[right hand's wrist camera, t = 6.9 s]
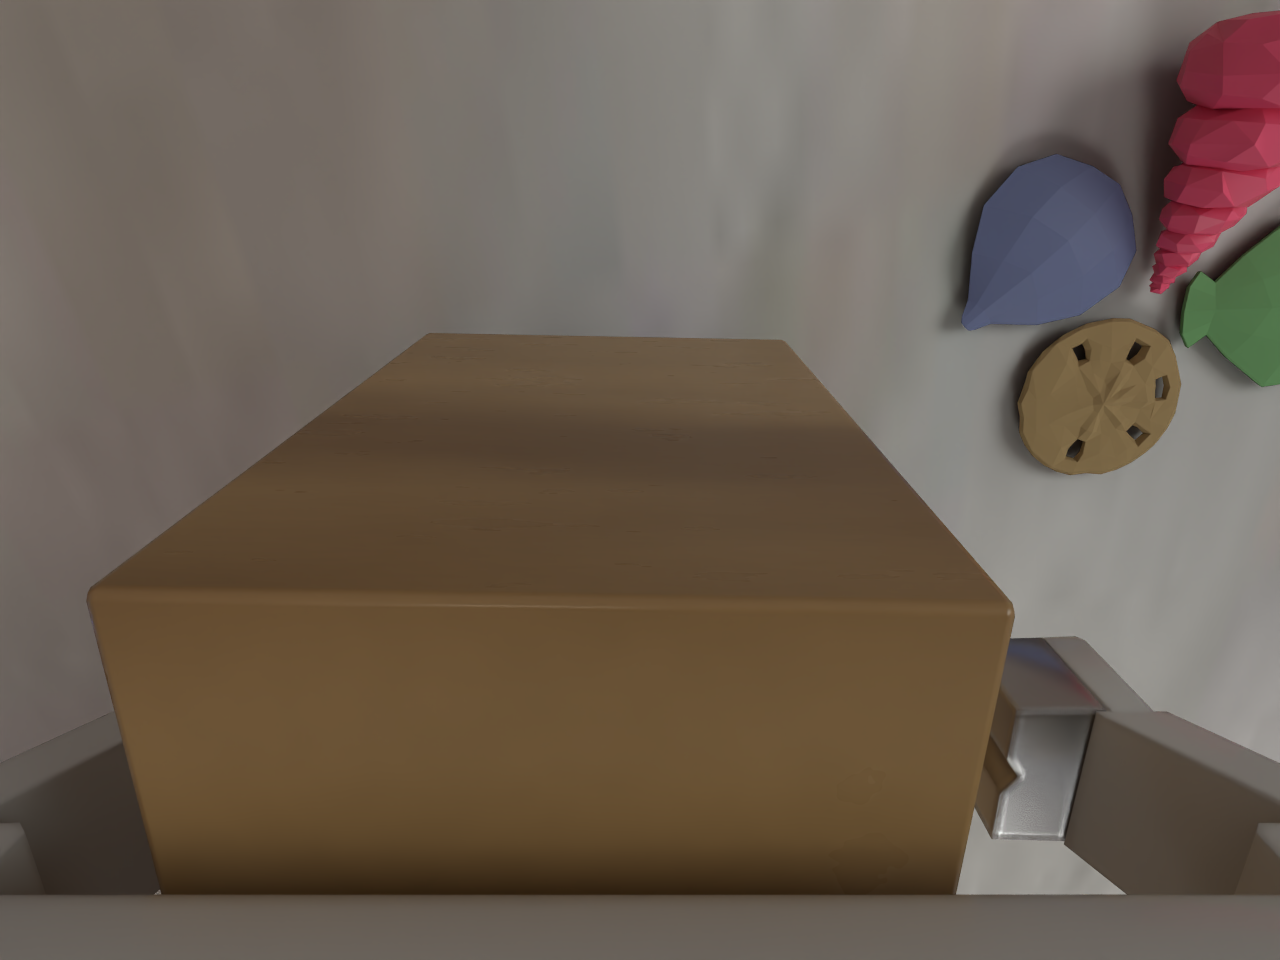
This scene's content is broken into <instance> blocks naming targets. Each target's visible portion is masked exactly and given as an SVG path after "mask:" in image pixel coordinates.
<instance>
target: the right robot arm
mask: <svg viewBox="0 0 1280 960" xmlns="http://www.w3.org/2000/svg"><path fill="white" fill-rule="evenodd" d="M974 807H975V809H976V811H977V813H978V815H979V816H980V818H981V820H982V822H983V824H984V826H985V827H986V829H987V831H988V833H989V835H990V837H991V839H1010V840H1047V841H1065V842H1064V845H1066V846H1067V847H1068V848H1069V849H1071V850H1072V851H1073V852H1074V853H1076V854H1077V855H1078V856H1079V857H1081V858H1082V859H1083V860H1084V861H1086V862H1087V863H1088V864H1089V865H1091V866H1092V867H1093V868H1094V869H1096V870H1097V871H1098V872H1099V873H1101V874H1102V875H1103V876H1104V877H1106V878H1107V879H1108V880H1110V881H1111V882H1112V883H1113V884H1115V885H1116V886H1117V887H1118V888H1120V889H1121V890H1122V891H1123V892H1125V893H1126V894H1127V895H153V894H154V893H156V892H157V891H158V890H159V889H160V886H159V882H158V878H157V874H156V871H155V867H154V863H153V859H152V855H151V851H150V847H149V843H148V839H147V835H146V832H145V828H144V824H143V820H142V816H141V812H140V808H139V804H138V800H137V796H136V793H135V789H134V785H133V781H132V777H131V773H130V769H129V765H128V761H127V757H126V753H125V750H124V746H123V742H122V738H121V734H120V730H119V726H118V722H117V718H116V714H115V712H111V713H109V714H107V715H105V716H103V717H100V718H98V719H96V720H94V721H92V722H89V723H87V724H85V725H83V726H81V727H78V728H76V729H74V730H72V731H70V732H67V733H65V734H63V735H61V736H59V737H56V738H54V739H52V740H50V741H48V742H46V743H43V744H41V745H39V746H37V747H35V748H32V749H30V750H28V751H26V752H24V753H21V754H19V755H17V756H15V757H13V758H10V759H8V760H6V761H4V762H2V763H0V960H1280V763H1278V762H1276V761H1274V760H1271V759H1269V758H1267V757H1265V756H1263V755H1261V754H1258V753H1256V752H1254V751H1252V750H1250V749H1247V748H1245V747H1243V746H1241V745H1239V744H1236V743H1234V742H1232V741H1230V740H1228V739H1226V738H1223V737H1221V736H1219V735H1217V734H1215V733H1212V732H1210V731H1208V730H1206V729H1204V728H1201V727H1199V726H1197V725H1195V724H1193V723H1191V722H1188V721H1186V720H1184V719H1182V718H1180V717H1177V716H1175V715H1173V714H1171V713H1169V712H1154V711H1153V710H1152V709H1151V708H1150V707H1149V706H1148V705H1147V704H1146V703H1145V702H1144V701H1143V700H1142V699H1141V698H1140V697H1139V696H1138V695H1137V694H1136V693H1135V692H1134V690H1133V689H1132V688H1131V687H1130V686H1129V685H1128V684H1127V683H1126V682H1125V681H1124V680H1123V679H1122V678H1121V677H1120V676H1119V675H1118V674H1117V673H1116V672H1115V671H1114V670H1113V669H1112V668H1111V667H1110V666H1109V665H1108V664H1107V663H1106V662H1105V660H1104V659H1103V658H1102V657H1101V656H1100V655H1099V654H1098V653H1097V652H1096V651H1095V650H1094V649H1093V648H1092V647H1091V646H1090V645H1089V644H1088V643H1087V642H1086V641H1085V640H1083V639H1080V638H1078V637H1075V636H1071V637H1045V638H1014V639H1010V641H1009V646H1008V651H1007V655H1006V660H1005V665H1004V670H1003V674H1002V679H1001V684H1000V688H999V693H998V698H997V702H996V707H995V712H994V717H993V721H992V726H991V731H990V735H989V740H988V745H987V750H986V754H985V759H984V764H983V768H982V773H981V778H980V783H979V787H978V792H977V797H976V801H975V806H974Z"/></svg>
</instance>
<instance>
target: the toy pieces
mask: <svg viewBox="0 0 1280 960" xmlns="http://www.w3.org/2000/svg"><path fill="white" fill-rule="evenodd" d="M1177 82H1178V84H1179V86H1180V88H1181V90H1182V92H1183V94H1184V96H1185V98H1186V100H1187V101H1188V102H1191V103H1193V104H1195V105H1197V106H1195V107H1194V108H1192V109H1191V110H1189V111H1188V112H1186V113H1185V114H1183V115H1182V116H1180V117H1179V118H1177V121H1176V124H1175V127H1174V129H1173V132H1172V135H1171V137H1170V140H1169V143H1168V144H1169V145H1170V147H1171V148H1172V149H1173V151H1174V152H1175V153H1176V155H1177V156H1178V157H1179V159H1180V160H1181V161H1182V162H1183V163H1182V164H1181V165H1178V166H1174V167H1173V168H1172V169H1171V171H1170V172H1169V173H1168V175H1167V176H1166V177H1165V179H1164V197H1165V198H1167V199H1169V200H1172V201H1170V202H1169V203H1168V204H1167V205H1166V206H1165V207H1164V208H1162V211H1161V214H1160V217H1159V220H1160V221H1161V223H1162V224H1163V225H1164V226H1165V228H1166V230H1163V231H1161V233H1160V236H1159V239H1158V241H1157V244H1156V246H1157V247H1159V248H1160V249H1159V250H1158V251H1157V252H1155V253H1154V257H1155V261H1156V264H1155V265H1153V266H1152V267H1153V270H1154V274H1153V275H1152V277H1151V279H1150V281H1152V282H1153V283H1152V284H1151V285H1149V286H1150V287H1151V289H1150V292H1154V293H1158V294H1161V293H1163V292H1164V291H1165V290H1166V289H1168V288H1169V285H1170V283H1174V282H1175V278H1176V277H1177V276H1179V275H1181V274H1183V273H1185V272H1187V267H1189V266H1190V265H1191V264H1193V263H1194V262H1195V261H1196V260H1198V258H1199V256H1200V254H1201V252H1204V251H1205V250H1207V249H1209V248H1211V247H1213V246H1214V244H1215V243H1216V241H1217V239H1218V237H1219V236H1220V234H1221V232H1223V231H1225V230H1227V229H1229V228H1231V227H1233V226H1234V225H1235V224H1236V223H1237V222H1238V221H1239V220H1240V219H1241V218H1242V217H1243V216H1244V215H1245V214H1246V213H1247V207H1249V206H1251V205H1252V204H1254V203H1255V202H1257V201H1258V200H1260V199H1261V198H1263V197H1264V196H1265V195H1267V194H1268V193H1270V192H1271V191H1273V190H1274V189H1276V188H1277V187H1279V186H1280V11H1271V12H1260V13H1252V14H1248V15H1244V16H1240V17H1235V18H1231V19H1227V20H1223V21H1220V22H1217V23H1215V24H1214V25H1213V26H1211V27H1210V28H1209V29H1207V30H1206V31H1205V32H1203V33H1202V34H1201V35H1199V36H1198V37H1197V38H1195V39H1194V40H1193V41H1191V42H1190V43H1189V46H1188V49H1187V51H1186V54H1185V57H1184V60H1183V63H1182V66H1181V69H1180V72H1179V74H1178V77H1177ZM1135 253H1136V243H1135V235H1134V226H1133V218H1132V213H1131V211H1130V208H1129V206H1128V203H1127V201H1126V198H1125V196H1124V193H1123V191H1122V188H1121V186H1120V184H1118V183H1117V182H1116V181H1114V180H1113V179H1111V178H1110V177H1108V176H1107V175H1105V174H1104V173H1102V172H1101V171H1099V170H1098V169H1096V168H1095V167H1093V166H1091V165H1088V164H1085V163H1082V162H1079V161H1076V160H1073V159H1070V158H1067V157H1064V156H1061V155H1058V154H1055V155H1052V156H1049V157H1046V158H1043V159H1040V160H1037V161H1034V162H1031V163H1028V164H1025V165H1022V166H1019V167H1017V168H1016V169H1015V170H1014V172H1013V173H1012V174H1011V175H1010V176H1009V177H1008V178H1007V180H1006V181H1005V182H1004V183H1003V184H1002V185H1001V186H1000V188H999V189H998V190H997V191H996V192H995V193H994V194H993V196H992V197H991V198H990V199H989V200H988V201H987V202H986V204H985V205H984V207H983V211H982V215H981V219H980V223H979V227H978V231H977V236H976V240H975V244H974V248H973V252H972V261H971V272H970V284H969V295H968V301H967V304H966V307H965V310H964V312H963V315H962V321H961V323H962V324H963V326H964V327H965V328H966V329H967V330H976V329H978V328H981V327H983V326H986V325H989V324H1020V325H1038V324H1043V323H1047V322H1052V321H1056V320H1061V319H1065V318H1069V317H1074V316H1078V315H1081V314H1082V313H1084V312H1085V311H1086V310H1088V309H1089V308H1091V307H1092V306H1093V305H1095V304H1096V303H1098V302H1099V301H1100V300H1102V299H1103V298H1104V297H1106V296H1107V295H1109V294H1110V293H1111V292H1113V291H1114V290H1116V289H1117V288H1118V287H1120V284H1121V282H1122V280H1123V278H1124V276H1125V274H1126V272H1127V270H1128V267H1129V265H1130V263H1131V261H1132V259H1133V257H1134V255H1135ZM1180 335H1181V337H1182V340H1183V342H1184V345H1185V346H1186V347H1187V348H1189V347H1190V346H1192V345H1193V344H1194V343H1196V342H1197V341H1199V340H1200V339H1201V338H1203V337H1204V336H1205V335H1206V336H1207V337H1208V338H1209V339H1210V341H1211V342H1212V343H1213V344H1214V345H1215V346H1216V348H1217V349H1218V350H1219V351H1220V352H1221V353H1222V354H1223V356H1224V357H1226V358H1227V359H1228V360H1229V361H1230V362H1232V363H1233V364H1234V365H1235V366H1236V367H1238V368H1239V369H1240V370H1241V371H1242V372H1244V373H1245V374H1246V375H1247V376H1249V377H1250V378H1251V379H1252V380H1253V381H1255V382H1256V383H1257V384H1258V385H1260V386H1261V387H1264V386H1271V385H1278V384H1280V226H1279V227H1277V228H1276V229H1275V230H1273V231H1272V232H1271V233H1270V234H1268V235H1267V236H1266V237H1265V238H1263V239H1262V240H1261V241H1259V242H1258V243H1257V244H1256V245H1254V246H1253V247H1252V248H1250V249H1249V250H1248V251H1247V252H1245V253H1244V254H1243V255H1242V256H1241V257H1240V258H1238V259H1237V260H1236V261H1235V262H1234V263H1233V264H1232V265H1231V266H1230V267H1229V268H1228V269H1227V270H1226V271H1225V272H1223V273H1222V274H1221V275H1220V276H1219V277H1218V278H1217V279H1216V280H1215V281H1213V280H1212V279H1210V278H1209V277H1208V276H1206V275H1205V274H1204V273H1203V272H1201V271H1199V272H1197V273H1196V275H1195V276H1194V278H1193V279H1192V280H1191V282H1190V283H1189V285H1188V286H1187V289H1186V293H1185V298H1184V302H1183V306H1182V311H1181V322H1180ZM1134 342H1137V343H1138V344H1140V345H1142V347H1141V349H1140V350H1139V352H1138V353H1137V355H1135V356H1134V357H1133V358H1131V359H1130V360H1129V361H1128V360H1127V359H1126V358H1127V356H1128V353H1129V351H1130V349H1131V347H1132V346H1133V344H1134ZM1080 344H1083V346H1084V349H1085V355H1086V359H1084V360H1079V361H1078V359H1077V357H1076V355H1075V353H1074V351H1073V349H1072V348H1074V347H1076V346H1078V345H1080ZM1160 377H1162V379H1163V384H1164V387H1163V393H1162V397H1161V398H1155V389H1156V384H1155V379H1158V378H1160ZM1180 387H1181V381H1180V376H1179V371H1178V366H1177V361H1176V356H1175V354H1174V351H1173V349H1172V346H1171V344H1170V341H1169V340H1168V339H1167V338H1165V337H1164V336H1163V335H1161V334H1160V333H1159V332H1158V331H1156V330H1155V329H1153V328H1151V327H1149V326H1146V325H1144V324H1141V323H1139V322H1137V321H1134V320H1132V319H1122V318H1112V319H1107V320H1102V321H1097V322H1092V323H1087V324H1085V325H1083V326H1080V327H1078V328H1076V329H1074V330H1072V331H1070V332H1068V333H1066V334H1064V335H1063V336H1061V337H1060V338H1059V339H1057V340H1056V341H1055V342H1053V343H1052V344H1051V345H1050V346H1049V347H1048V348H1046V349H1045V350H1044V351H1043V352H1042V353H1041V354H1040V356H1039V357H1038V358H1037V360H1036V361H1035V363H1034V364H1033V365H1032V367H1031V368H1030V370H1029V371H1028V373H1027V377H1026V380H1025V383H1024V386H1023V389H1022V392H1021V395H1020V397H1019V400H1018V403H1017V404H1018V410H1019V415H1020V425H1019V433H1020V435H1021V438H1022V440H1023V442H1024V445H1025V446H1026V448H1027V449H1028V450H1029V452H1030V453H1031V454H1032V456H1033V457H1035V458H1036V459H1037V460H1038V461H1039V462H1041V463H1042V464H1043V465H1045V466H1047V467H1048V468H1050V469H1052V470H1054V471H1057V472H1060V473H1064V474H1068V475H1074V474H1082V473H1093V474H1103V473H1106V472H1110V471H1113V470H1116V469H1118V468H1121V467H1123V466H1125V465H1127V464H1129V463H1131V462H1132V461H1134V460H1135V459H1137V458H1138V457H1140V456H1141V455H1142V454H1144V453H1145V452H1146V451H1148V450H1149V449H1150V448H1151V447H1152V446H1153V445H1154V444H1155V443H1156V442H1157V441H1158V439H1159V438H1160V437H1161V436H1162V434H1163V433H1164V432H1165V430H1166V429H1167V428H1168V426H1169V424H1170V422H1171V420H1172V418H1173V416H1174V414H1175V411H1176V406H1177V401H1178V397H1179V392H1180ZM1132 425H1133V426H1135V427H1138V428H1139V429H1140V430H1141V432H1142V433H1143V434H1141V435H1140V436H1139V437H1138V438H1137V439H1136V440H1134V439H1133V438H1132V437H1131V436H1130V435H1129V434H1128V433H1127V432H1126V431H1127V430H1128V429H1129V428H1130V427H1131V426H1132ZM1077 439H1079V440H1082V441H1083V443H1082V446H1081V449H1080V451H1079V453H1078V454H1077V455H1076V456H1075V457H1074V458H1071V457H1067V456H1066V454H1067V451H1068V448H1069V447H1070V446H1071V445H1072V444H1073V443H1074V442H1075V441H1076V440H1077Z"/></svg>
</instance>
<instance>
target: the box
mask: <svg viewBox="0 0 1280 960" xmlns="http://www.w3.org/2000/svg"><path fill="white" fill-rule="evenodd" d="M87 605H88V609H89V613H90V617H91V621H92V625H93V629H94V633H95V636H96V640H97V644H98V648H99V652H100V656H101V660H102V664H103V668H104V672H105V675H106V679H107V683H108V687H109V691H110V695H111V699H112V703H113V707H114V711H115V714H116V718H117V722H118V726H119V730H120V734H121V738H122V742H123V746H124V750H125V753H126V757H127V761H128V765H129V769H130V773H131V777H132V781H133V785H134V789H135V793H136V796H137V800H138V804H139V808H140V812H141V816H142V820H143V824H144V828H145V832H146V835H147V839H148V843H149V847H150V851H151V855H152V859H153V863H154V867H155V871H156V874H157V878H158V882H159V886H160V890H161V894H162V895H956V891H957V886H958V882H959V877H960V872H961V867H962V863H963V858H964V853H965V849H966V844H967V839H968V834H969V830H970V825H971V820H972V816H973V811H974V806H975V801H976V797H977V792H978V787H979V783H980V778H981V773H982V768H983V764H984V759H985V754H986V750H987V745H988V740H989V735H990V731H991V726H992V721H993V717H994V712H995V707H996V702H997V698H998V693H999V688H1000V684H1001V679H1002V674H1003V670H1004V665H1005V660H1006V655H1007V651H1008V646H1009V641H1010V637H1011V632H1012V627H1013V622H1014V618H1015V614H1014V608H1013V604H1012V602H1011V601H1010V600H1009V599H1008V598H1007V596H1006V595H1005V594H1004V593H1003V592H1002V591H1001V590H1000V588H999V587H998V586H997V585H996V584H995V583H994V581H993V580H992V579H991V578H990V577H989V576H988V575H987V573H986V572H985V571H984V570H983V569H982V568H981V566H980V565H979V564H978V563H977V562H976V561H975V560H974V558H973V557H972V556H971V555H970V554H969V553H968V552H967V550H966V549H965V548H964V547H963V546H962V545H961V543H960V542H959V541H958V540H957V539H956V538H955V537H954V535H953V534H952V533H951V532H950V531H949V530H948V528H947V527H946V526H945V525H944V524H943V523H942V522H941V520H940V519H939V518H938V517H937V516H936V515H935V514H934V512H933V511H932V510H931V509H930V508H929V507H928V505H927V504H926V503H925V502H924V501H923V500H922V499H921V497H920V496H919V495H918V494H917V493H916V492H915V490H914V489H913V488H912V487H911V486H910V485H909V484H908V482H907V481H906V480H905V479H904V478H903V477H902V476H901V474H900V473H899V472H898V471H897V470H896V469H895V467H894V466H893V465H892V464H891V463H890V462H889V461H888V459H887V458H886V457H885V456H884V455H883V454H882V452H881V451H880V450H879V449H878V448H877V447H876V446H875V444H874V443H873V442H872V441H871V440H870V439H869V437H868V436H867V435H866V434H865V433H864V432H863V431H862V429H861V428H860V427H859V426H858V425H857V424H856V423H855V421H854V420H853V419H852V418H851V417H850V416H849V414H848V413H847V412H846V411H845V410H844V409H843V408H842V406H841V405H840V404H839V403H838V402H837V401H836V399H835V398H834V397H833V396H832V395H831V394H830V393H829V391H828V390H827V389H826V388H825V387H824V386H823V385H822V383H821V382H820V381H819V380H818V379H817V378H816V376H815V375H814V374H813V373H812V372H811V371H810V370H809V368H808V367H807V366H806V365H805V364H804V363H803V361H802V360H801V359H800V358H799V357H798V356H797V355H796V353H795V352H794V351H793V350H792V349H791V348H790V347H789V345H788V344H787V343H786V342H785V341H783V340H760V339H708V338H657V337H605V336H553V335H502V334H450V333H429V334H427V335H425V336H424V337H422V338H421V339H420V340H418V341H417V342H416V343H414V344H413V345H412V346H410V347H409V348H408V349H407V350H405V351H404V352H403V353H401V354H400V355H399V356H397V357H396V358H395V359H393V360H392V361H391V362H389V363H388V364H387V365H385V366H384V367H383V368H381V369H380V370H379V371H377V372H376V373H375V374H373V375H372V376H371V377H369V378H368V379H367V380H365V381H364V382H363V383H361V384H360V385H359V386H357V387H356V388H355V389H353V390H352V391H351V392H349V393H348V394H347V395H345V396H344V397H343V398H341V399H340V400H339V401H337V402H336V403H335V404H333V405H332V406H331V407H329V408H328V409H327V410H325V411H324V412H323V413H322V414H320V415H319V416H318V417H316V418H315V419H314V420H312V421H311V422H310V423H308V424H307V425H306V426H304V427H303V428H302V429H300V430H299V431H298V432H296V433H295V434H294V435H292V436H291V437H290V438H288V439H287V440H286V441H284V442H283V443H282V444H280V445H279V446H278V447H276V448H275V449H274V450H272V451H271V452H270V453H268V454H267V455H266V456H264V457H263V458H262V459H260V460H259V461H258V462H256V463H255V464H254V465H252V466H251V467H250V468H248V469H247V470H246V471H244V472H243V473H242V474H240V475H239V476H238V477H236V478H235V479H234V480H233V481H231V482H230V483H229V484H227V485H226V486H225V487H223V488H222V489H221V490H219V491H218V492H217V493H215V494H214V495H213V496H211V497H210V498H209V499H207V500H206V501H205V502H203V503H202V504H201V505H199V506H198V507H197V508H195V509H194V510H193V511H191V512H190V513H189V514H187V515H186V516H185V517H183V518H182V519H181V520H179V521H178V522H177V523H175V524H174V525H173V526H171V527H170V528H169V529H167V530H166V531H165V532H163V533H162V534H161V535H159V536H158V537H157V538H155V539H154V540H153V541H151V542H150V543H149V544H148V545H146V546H145V547H144V548H142V549H141V550H140V551H138V552H137V553H136V554H134V555H133V556H132V557H130V558H129V559H128V560H126V561H125V562H124V563H122V564H121V565H120V566H118V567H117V568H116V569H114V570H113V571H112V572H110V573H109V574H108V575H106V576H105V577H104V578H102V579H101V580H100V581H98V582H97V583H96V584H94V585H93V586H92V587H91V588H90V590H89V592H88V594H87Z"/></svg>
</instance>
